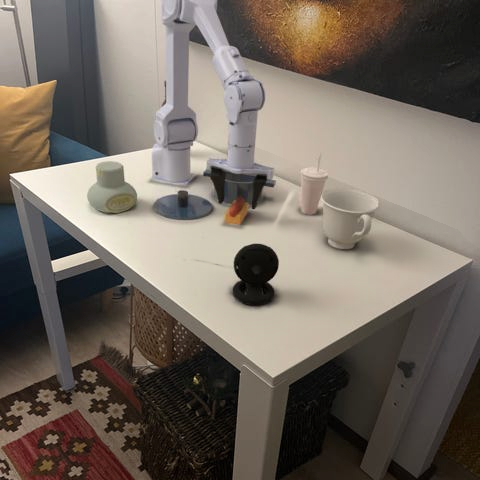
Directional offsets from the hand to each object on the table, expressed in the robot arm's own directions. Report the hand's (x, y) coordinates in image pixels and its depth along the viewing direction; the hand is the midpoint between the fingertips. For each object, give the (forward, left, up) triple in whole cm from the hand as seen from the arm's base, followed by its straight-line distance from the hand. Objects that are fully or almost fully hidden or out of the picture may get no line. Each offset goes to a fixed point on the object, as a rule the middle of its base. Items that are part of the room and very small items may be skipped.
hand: (237, 204), depth 112 cm
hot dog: (0, 0, -4) cm, 4 cm away
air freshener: (-28, -6, -4) cm, 29 cm away
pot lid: (-13, 0, -3) cm, 13 cm away
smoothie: (+15, +11, -4) cm, 19 cm away
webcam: (+11, -29, -4) cm, 31 cm away
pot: (-3, +13, -4) cm, 13 cm away
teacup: (+25, -4, -4) cm, 26 cm away
